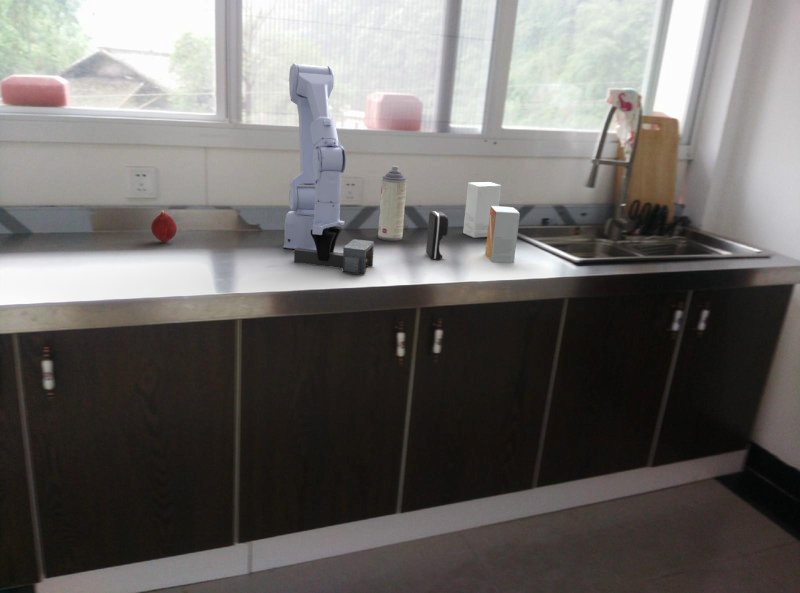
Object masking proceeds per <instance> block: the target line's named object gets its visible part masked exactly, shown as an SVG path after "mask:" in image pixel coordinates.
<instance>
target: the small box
mask: <svg viewBox="0 0 800 593" xmlns="http://www.w3.org/2000/svg"><path fill="white" fill-rule="evenodd" d="M520 216H521V213H520V212H519V210H517V209H516V208H515V207H511V206H502V205H499V206H491V208H490V217H489V225H488V234H487V237H486V243H485V252H484V253H485V255H486V256H487V258H488V259H489V261H490V262H493V263H495V262H496V263H509V264H510V263H514V262H515V256H516V248H517V239H518V232H519V224H520V218H521V217H520Z"/></svg>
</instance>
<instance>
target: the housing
mask: <svg viewBox="0 0 800 593" xmlns="http://www.w3.org/2000/svg"><path fill="white" fill-rule="evenodd" d="M374 248H375V241H373V240H365V239H364V240H363V239H356V238H355V239H354V238H353V239H352V240H350V241H349V242H348V243H347V244H346V245H345V246H344V247H343V248H342V249H343V250H342V251H343V252H342V253H343V268H341V269H342V270H341V271H342V273H343V274H353V275H360V276H364V275H365V274H366V267H373V265H374V251H375V250H374ZM366 259H367V262H366Z"/></svg>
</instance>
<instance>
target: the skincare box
mask: <svg viewBox="0 0 800 593" xmlns="http://www.w3.org/2000/svg"><path fill="white" fill-rule="evenodd" d="M466 191H467V192H466V200H465V201H466V202H465V209H464V210H465V211H464V220H463V221H464V222H463V229H462V230H463V231H462V232H463V234H465V235H466V236H469V237H472V238H487V234H488V225H489V217H490V208H491V206H500V202H501V201H500V200H501V193H502V184H498V183H494V182H491V181H485V182H484V181H483V182H482V181H481V182H480V181H479V182H474V181H473V182H467V190H466Z"/></svg>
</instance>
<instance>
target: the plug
mask: <svg viewBox="0 0 800 593" xmlns="http://www.w3.org/2000/svg"><path fill="white" fill-rule="evenodd" d="M366 262H367V259H366ZM293 263H294V264H295V263H296V264H306V265H312V266H318V267H319V266H321V267H327V268H328V267H329V268H337V269H342V268H343V252H339V251H338V252H335V251H334V252H330V255H329V259H328V261H320V260H319V259H318V255H317V250H313V249H305V248H296V249H293Z"/></svg>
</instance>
